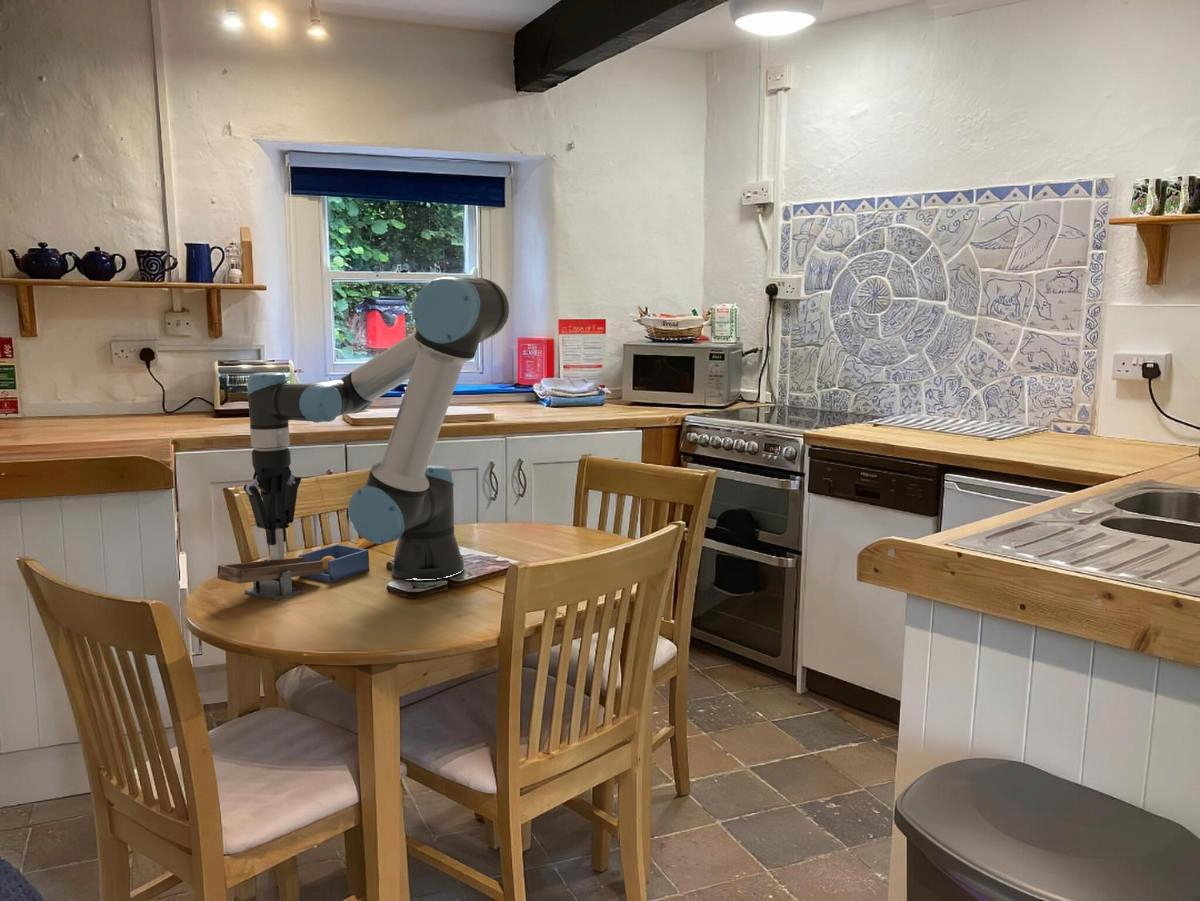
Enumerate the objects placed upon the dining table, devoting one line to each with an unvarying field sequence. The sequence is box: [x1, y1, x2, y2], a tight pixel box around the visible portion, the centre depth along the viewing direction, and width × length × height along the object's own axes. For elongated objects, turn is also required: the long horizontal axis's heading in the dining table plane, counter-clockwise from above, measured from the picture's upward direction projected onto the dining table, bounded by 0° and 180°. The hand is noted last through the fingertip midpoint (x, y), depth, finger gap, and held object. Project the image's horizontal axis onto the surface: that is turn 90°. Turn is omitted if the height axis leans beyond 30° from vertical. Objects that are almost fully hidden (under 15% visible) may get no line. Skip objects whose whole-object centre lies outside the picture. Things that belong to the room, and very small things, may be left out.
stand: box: [243, 571, 302, 602], centre depth 188 cm, size 10×6×5 cm, turn 57°
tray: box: [298, 543, 370, 584], centre depth 201 cm, size 10×11×4 cm
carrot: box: [354, 538, 377, 549], centre depth 225 cm, size 20×4×4 cm, turn 163°
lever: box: [216, 556, 323, 584], centre depth 189 cm, size 14×20×2 cm
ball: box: [321, 556, 335, 573], centre depth 200 cm, size 4×4×4 cm
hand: (277, 558), depth 198 cm, fingers closed
